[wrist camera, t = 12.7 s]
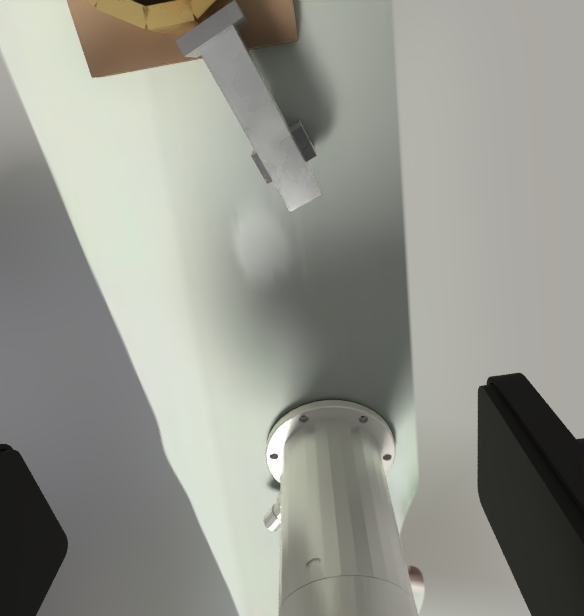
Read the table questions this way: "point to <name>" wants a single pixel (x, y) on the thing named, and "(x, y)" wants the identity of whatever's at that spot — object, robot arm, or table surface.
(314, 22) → the table surface
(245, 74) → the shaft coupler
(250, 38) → the walnut plate
